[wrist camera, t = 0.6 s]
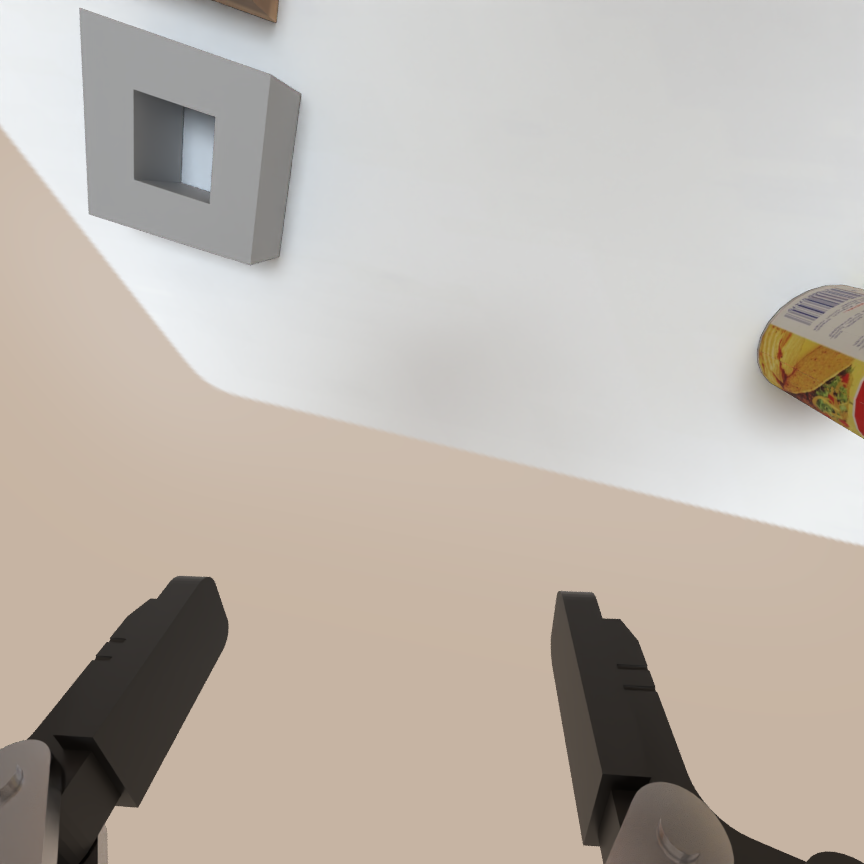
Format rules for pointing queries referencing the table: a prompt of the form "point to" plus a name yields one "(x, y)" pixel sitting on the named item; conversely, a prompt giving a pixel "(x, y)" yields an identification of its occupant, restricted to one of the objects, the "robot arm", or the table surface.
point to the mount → (255, 7)
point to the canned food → (820, 352)
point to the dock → (163, 133)
